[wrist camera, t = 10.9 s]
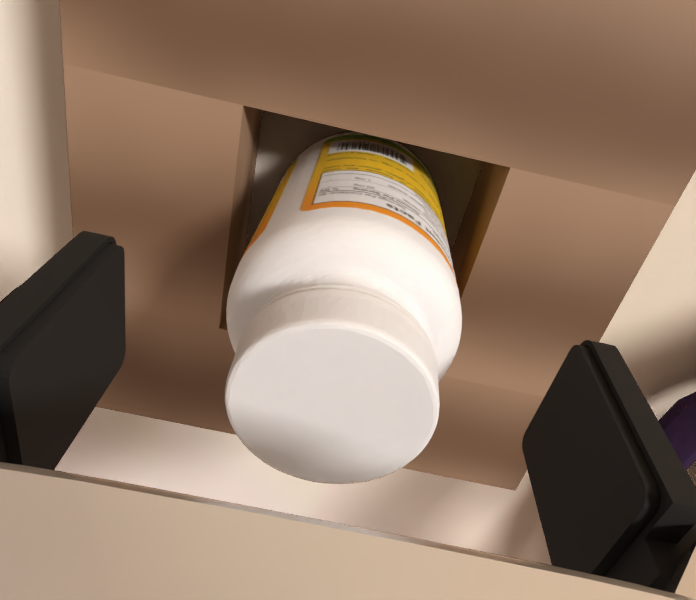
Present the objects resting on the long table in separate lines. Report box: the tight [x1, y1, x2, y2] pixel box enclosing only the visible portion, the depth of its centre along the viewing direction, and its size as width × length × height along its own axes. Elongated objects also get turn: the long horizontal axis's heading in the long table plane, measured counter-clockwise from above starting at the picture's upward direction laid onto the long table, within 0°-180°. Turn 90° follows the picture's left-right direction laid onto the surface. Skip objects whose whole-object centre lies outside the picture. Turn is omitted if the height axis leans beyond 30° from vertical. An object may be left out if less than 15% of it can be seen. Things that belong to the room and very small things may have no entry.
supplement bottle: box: [225, 132, 462, 484], centre depth 14 cm, size 5×5×10 cm
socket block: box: [59, 0, 696, 490], centre depth 17 cm, size 16×16×3 cm
